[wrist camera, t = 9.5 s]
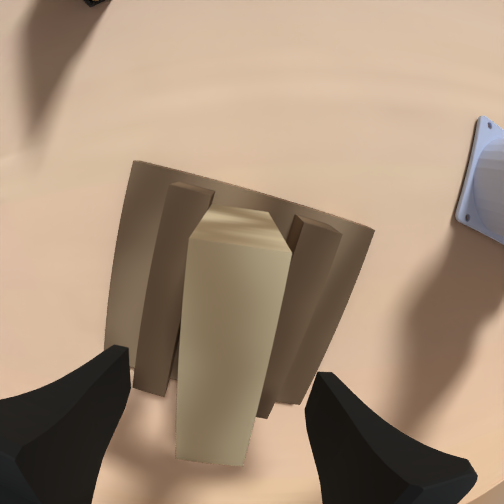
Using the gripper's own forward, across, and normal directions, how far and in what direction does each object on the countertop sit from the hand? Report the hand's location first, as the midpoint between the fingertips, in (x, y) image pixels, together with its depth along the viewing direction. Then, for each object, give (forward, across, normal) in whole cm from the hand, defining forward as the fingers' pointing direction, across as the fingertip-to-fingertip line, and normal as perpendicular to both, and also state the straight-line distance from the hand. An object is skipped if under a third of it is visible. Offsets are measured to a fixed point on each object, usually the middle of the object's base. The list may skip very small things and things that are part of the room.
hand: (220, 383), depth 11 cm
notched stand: (+8, 0, 0) cm, 8 cm away
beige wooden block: (+7, 0, 0) cm, 7 cm away
